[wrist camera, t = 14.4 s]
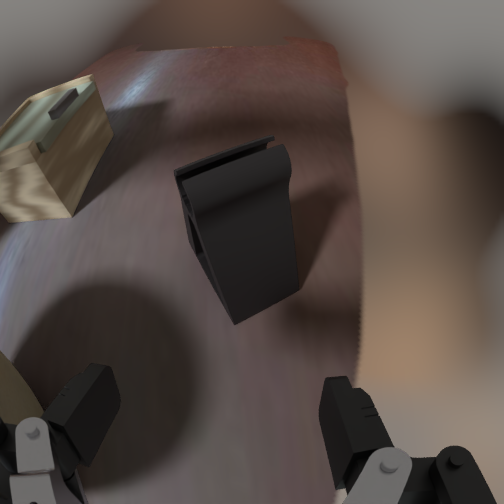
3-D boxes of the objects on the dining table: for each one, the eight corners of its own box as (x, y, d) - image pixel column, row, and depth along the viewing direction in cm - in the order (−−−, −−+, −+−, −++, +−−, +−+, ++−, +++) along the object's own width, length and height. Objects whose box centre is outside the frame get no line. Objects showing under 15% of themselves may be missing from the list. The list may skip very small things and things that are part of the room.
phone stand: (189, 243, 26) (156, 135, 16) (246, 217, 28) (241, 107, 17) (234, 326, 22) (214, 239, 12) (298, 292, 23) (329, 189, 13)
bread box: (9, 223, 28) (-34, 166, 19) (52, 148, 37) (27, 94, 27) (76, 217, 28) (28, 141, 18) (117, 134, 37) (95, 69, 27)
